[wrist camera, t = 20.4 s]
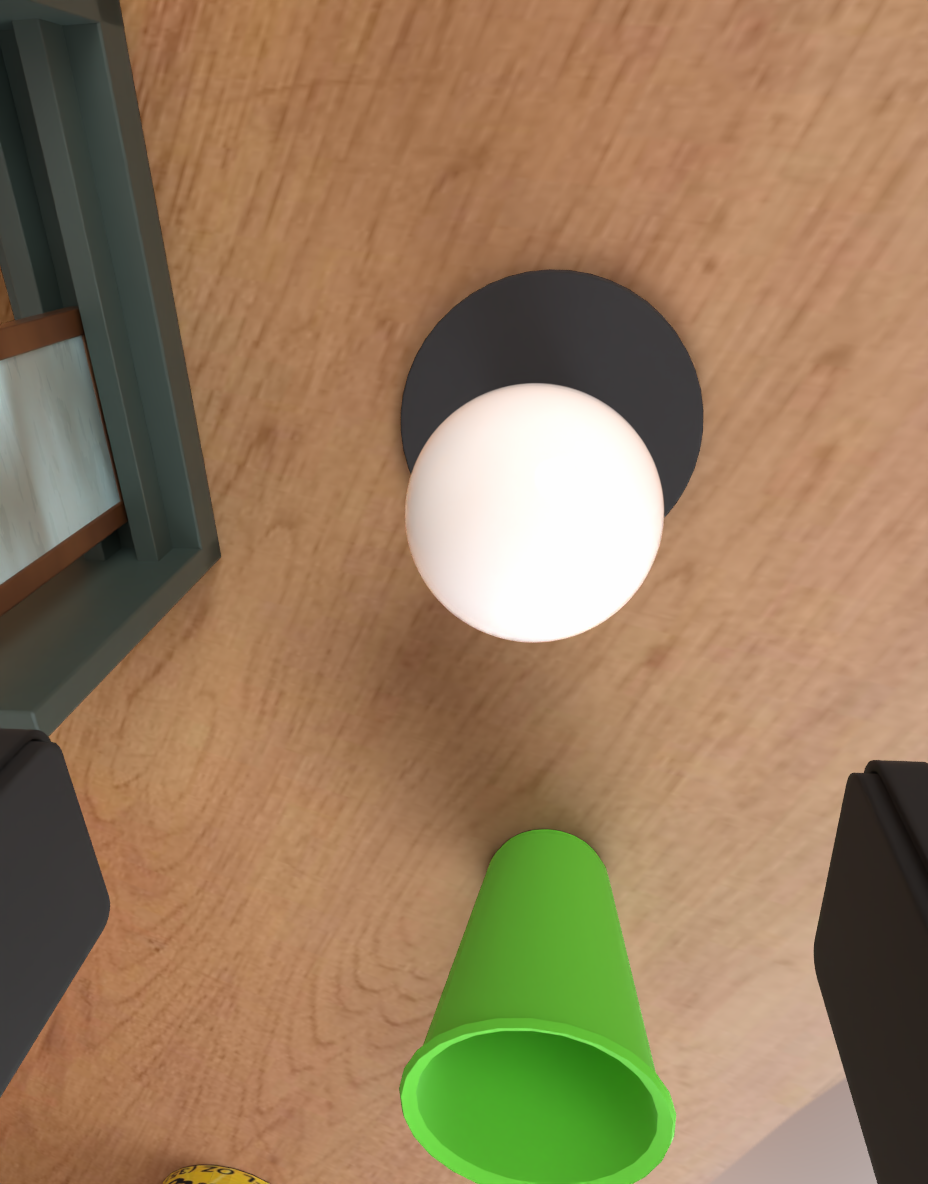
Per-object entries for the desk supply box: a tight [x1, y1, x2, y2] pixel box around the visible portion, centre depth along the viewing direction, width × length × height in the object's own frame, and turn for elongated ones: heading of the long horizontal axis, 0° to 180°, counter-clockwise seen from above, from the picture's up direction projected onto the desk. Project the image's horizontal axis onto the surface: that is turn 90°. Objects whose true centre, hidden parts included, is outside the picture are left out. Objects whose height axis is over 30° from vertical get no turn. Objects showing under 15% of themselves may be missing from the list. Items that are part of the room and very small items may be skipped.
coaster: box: [401, 270, 703, 518], centre depth 28 cm, size 10×10×1 cm
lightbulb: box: [405, 383, 664, 642], centre depth 23 cm, size 6×6×11 cm
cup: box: [399, 829, 676, 1184], centre depth 32 cm, size 9×9×11 cm
